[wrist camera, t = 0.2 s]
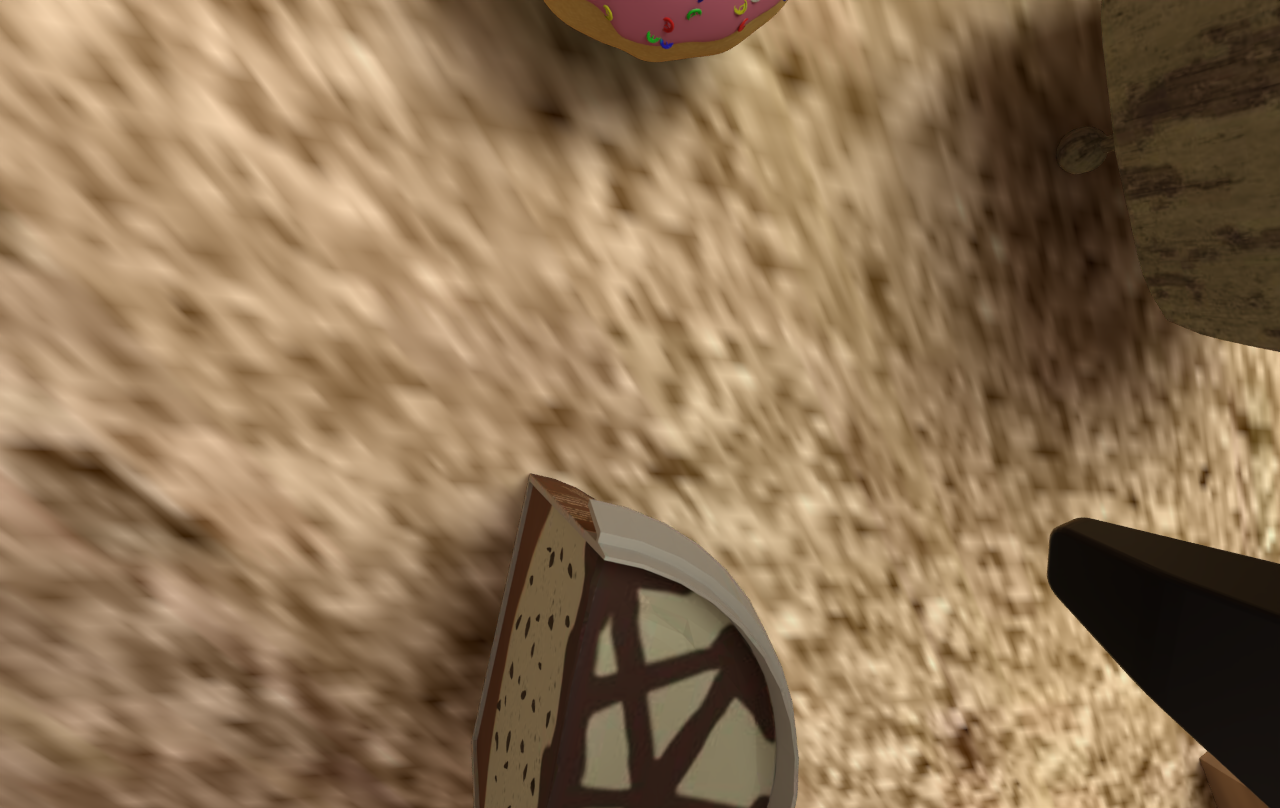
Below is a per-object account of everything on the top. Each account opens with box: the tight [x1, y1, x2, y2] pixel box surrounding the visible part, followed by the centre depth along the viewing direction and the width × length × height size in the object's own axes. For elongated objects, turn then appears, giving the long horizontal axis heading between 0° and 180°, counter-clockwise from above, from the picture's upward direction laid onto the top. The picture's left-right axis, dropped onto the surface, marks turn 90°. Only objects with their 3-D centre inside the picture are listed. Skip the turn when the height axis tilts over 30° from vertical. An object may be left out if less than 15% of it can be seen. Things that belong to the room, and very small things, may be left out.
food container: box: [471, 473, 799, 808], centre depth 20 cm, size 12×6×10 cm, turn 167°
